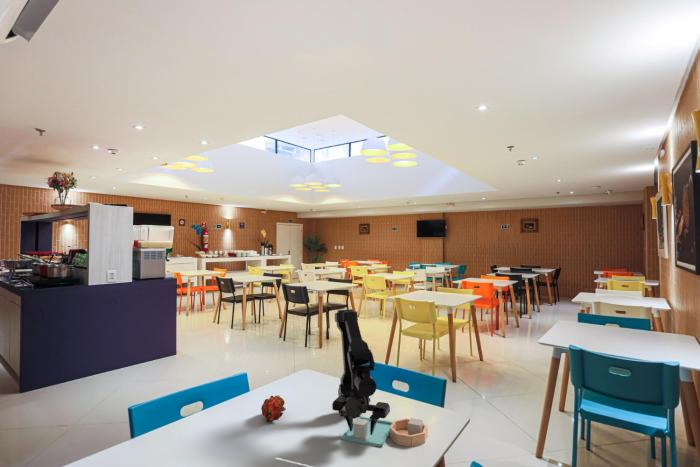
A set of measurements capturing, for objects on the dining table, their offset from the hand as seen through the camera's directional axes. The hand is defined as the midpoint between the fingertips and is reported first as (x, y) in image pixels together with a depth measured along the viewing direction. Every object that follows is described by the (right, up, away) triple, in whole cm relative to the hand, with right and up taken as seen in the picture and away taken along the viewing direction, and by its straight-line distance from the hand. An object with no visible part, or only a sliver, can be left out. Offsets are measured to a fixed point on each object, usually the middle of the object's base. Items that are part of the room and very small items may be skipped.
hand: (361, 432), depth 123 cm
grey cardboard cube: (0, -1, 0) cm, 1 cm away
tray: (+3, -2, +3) cm, 5 cm away
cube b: (+18, -1, -1) cm, 18 cm away
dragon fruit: (-33, -4, +16) cm, 37 cm away
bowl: (+16, -1, 0) cm, 16 cm away
